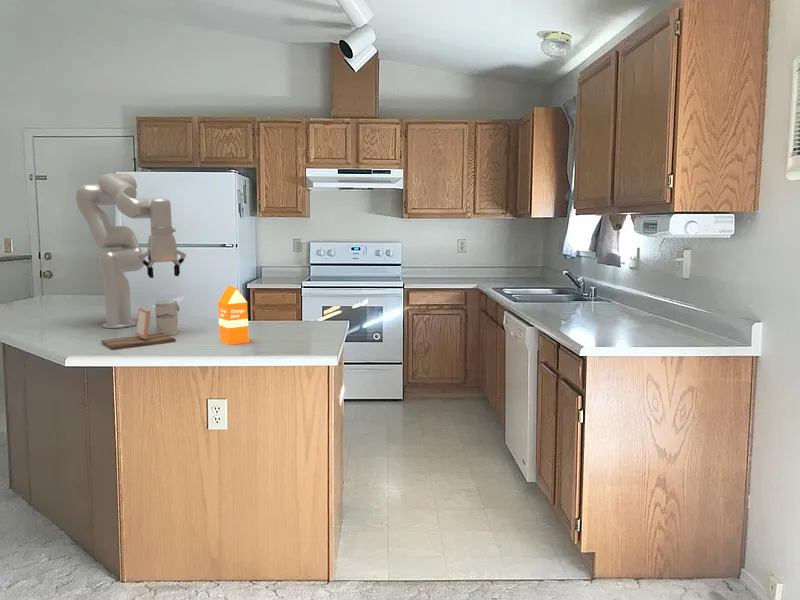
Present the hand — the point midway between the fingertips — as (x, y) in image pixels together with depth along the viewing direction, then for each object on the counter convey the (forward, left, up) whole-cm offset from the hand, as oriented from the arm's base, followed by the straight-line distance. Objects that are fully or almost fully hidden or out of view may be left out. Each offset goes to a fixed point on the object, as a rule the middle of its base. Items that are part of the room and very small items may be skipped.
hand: (164, 276), depth 257 cm
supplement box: (0, 0, -22) cm, 22 cm away
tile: (+11, -11, -15) cm, 22 cm away
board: (+11, -14, -22) cm, 28 cm away
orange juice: (+31, +14, -22) cm, 41 cm away
